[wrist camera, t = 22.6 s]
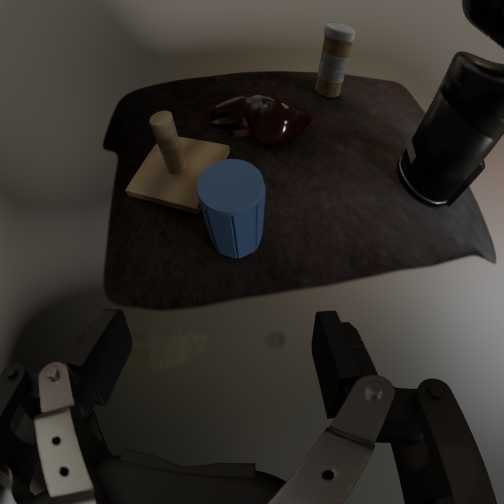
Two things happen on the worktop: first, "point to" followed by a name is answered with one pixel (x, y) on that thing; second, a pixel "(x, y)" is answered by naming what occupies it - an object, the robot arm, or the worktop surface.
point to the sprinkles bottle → (334, 59)
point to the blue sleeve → (233, 206)
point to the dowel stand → (174, 166)
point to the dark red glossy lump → (261, 118)
